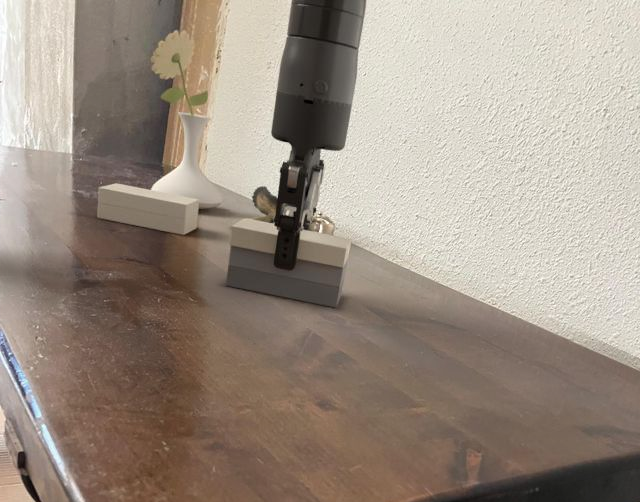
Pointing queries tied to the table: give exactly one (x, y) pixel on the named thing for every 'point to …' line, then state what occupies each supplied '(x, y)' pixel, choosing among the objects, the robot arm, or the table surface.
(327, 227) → the ornament
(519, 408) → the table surface
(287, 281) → the grey books
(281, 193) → the robot arm
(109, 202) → the white books
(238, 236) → the white book
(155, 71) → the flower in vase
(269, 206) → the eagle figurine
